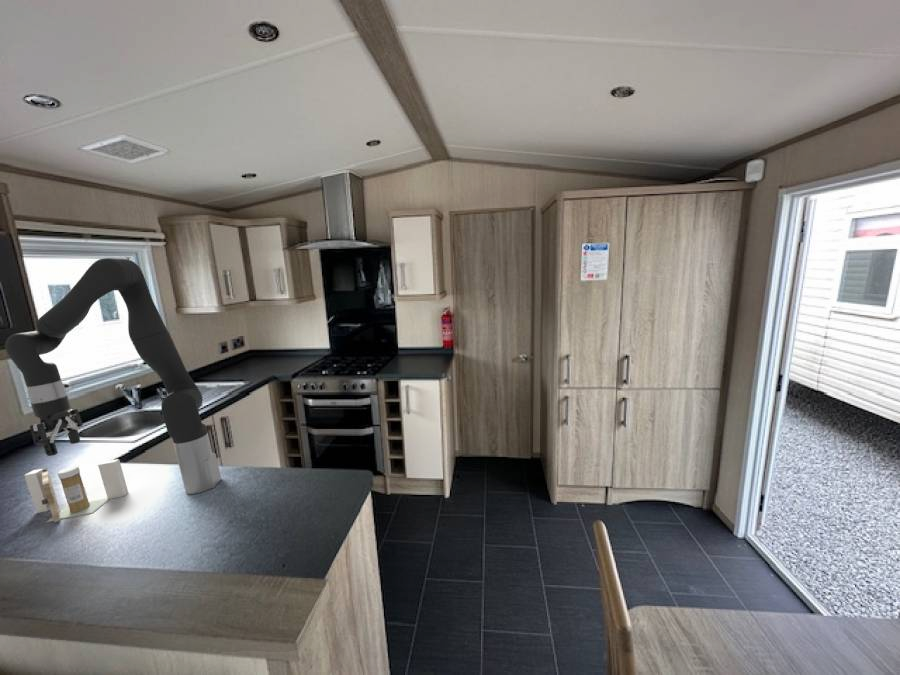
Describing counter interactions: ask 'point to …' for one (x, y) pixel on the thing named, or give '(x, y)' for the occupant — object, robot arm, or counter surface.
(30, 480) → the hinge post
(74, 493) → the sprinkles bottle
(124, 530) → the counter surface
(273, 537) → the counter surface
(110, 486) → the wall
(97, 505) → the mat
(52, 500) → the door
